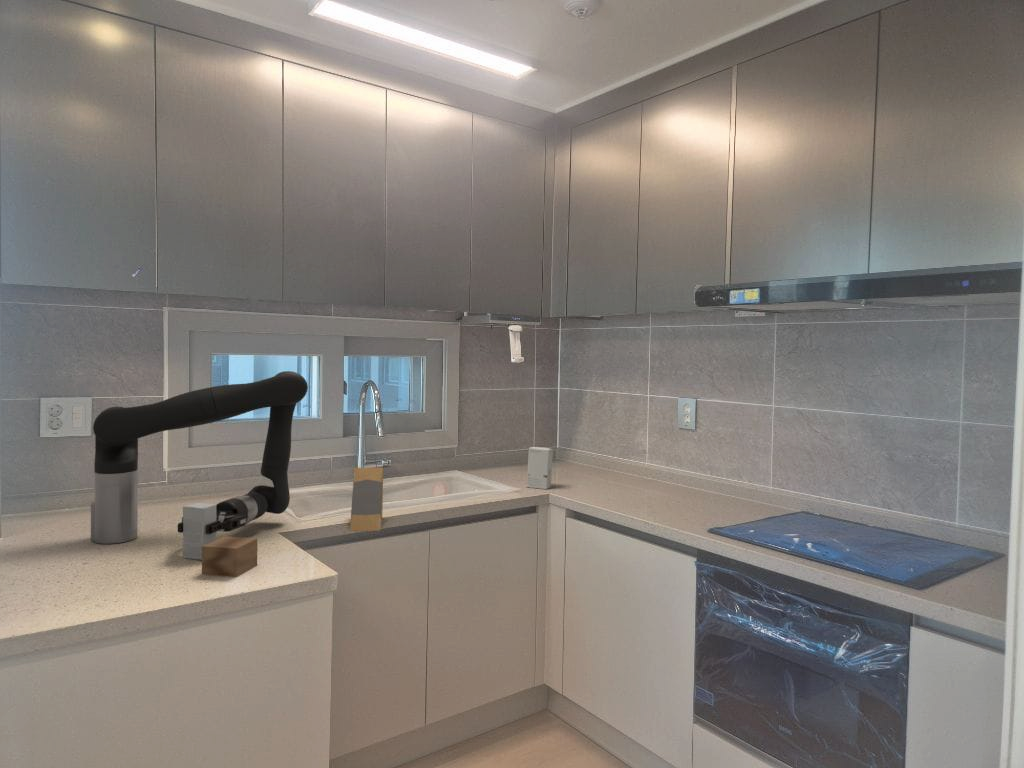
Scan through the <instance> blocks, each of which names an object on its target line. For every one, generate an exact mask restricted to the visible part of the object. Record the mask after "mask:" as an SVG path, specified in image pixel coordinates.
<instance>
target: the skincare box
mask: <svg viewBox="0 0 1024 768" xmlns="http://www.w3.org/2000/svg"><path fill="white" fill-rule="evenodd" d="M216 505H217V504H213V503H200V502H199V503H197V502H195V503H191V504H187V505H183V506H182V517H183V532H182V558H183V559H188V560H189V559H190V560H198V561H202V546H204V545H206V544H208V543H210V542H213V541H215V540H217V539H218V538H217V536H218V535H217V532H218V531H217V532H214V533H212V534H206V525H207V524H210V523H213V522H215V521H216Z"/></svg>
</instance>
